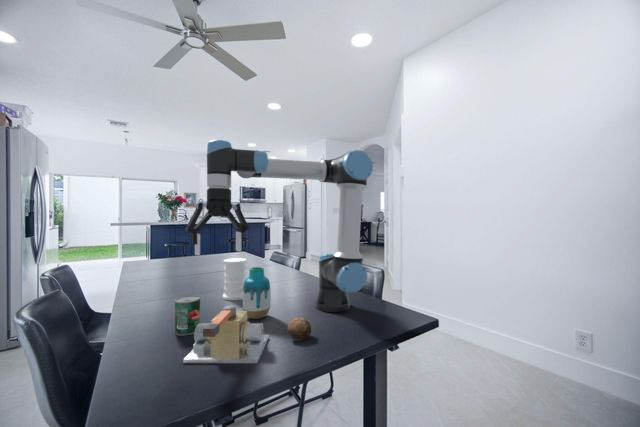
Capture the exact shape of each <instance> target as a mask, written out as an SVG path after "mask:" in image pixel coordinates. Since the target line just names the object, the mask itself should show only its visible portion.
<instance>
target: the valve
mask: <svg viewBox="0 0 640 427" xmlns="http://www.w3.org/2000/svg"><path fill="white" fill-rule="evenodd" d="M222 312H223V310H221V311H219V313H218V314H216V315H215V317H213V318H212V319H211V320H210V323H209V322H207V323H204V322H203V323H201V322H200V323H199V324H197V326H196V328H195V332H194V333H193V339H194V341H195V342H193V343H194V344H193V345H192V350H191V351H190V352H189V353H188V354H187V355H186V356H185V357H184V358H183V359H182V360H183V364H258V363H259V361H260V358H261V356H262V354H263V351H264V349H265V347H266V344H267V343H268V340H269V334H264V323H262V322H261V323H259V322H257V323H254V322H252V323H251V322H250V321H248V317H247V311H244V310H236V316H235V317H232V318H229V319H228V320H227V321H226V322H225V323H224V324H223V326H222V327H221V328H220V329H219V333H218V334H217V335H216V336H215V337H203V328H204V327H205V326H206V325H207V324H211V323H212V322H213V321H214V320H215V319H216V318H217V317H218V316H219V315H220V314H221V313H222Z"/></svg>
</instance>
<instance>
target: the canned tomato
mask: <svg viewBox="0 0 640 427" xmlns="http://www.w3.org/2000/svg"><path fill="white" fill-rule="evenodd" d="M199 323H201V297H200V296H198V295H186V296H180V297H177V298H176V299H175V300H174V334H175V335H176V336H181V337H183V336H188V335H189V336H190V335H194V332H195V328H196V326H197V324H199Z"/></svg>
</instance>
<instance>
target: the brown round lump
mask: <svg viewBox="0 0 640 427" xmlns="http://www.w3.org/2000/svg"><path fill="white" fill-rule="evenodd" d="M286 330H287V334H288V336H289V337H290V338H291V339H292V340H294V341H298V342H299V341H300V342H301V341H305V340H307V339H308V338H310V336H311V334H312V326H311V323H310V322H309V321H308V319H307V318H304V317H296V318H293V319H292V320H291V321H289V323H288V324H287V328H286Z"/></svg>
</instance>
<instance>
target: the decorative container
mask: <svg viewBox="0 0 640 427" xmlns="http://www.w3.org/2000/svg"><path fill="white" fill-rule="evenodd" d="M247 261H248V260H247V258H245V257H235V258H234V257H233V258H226V259H223V265H224V268H223V269H224V282H223V283H224V288H223V289H224V293H223V294H222V299H223V300H226V301H238V300H243V284H244V281H245V280H246V279H247V278H246V275H247V272H246V268H247V266H246V263H247Z"/></svg>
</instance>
